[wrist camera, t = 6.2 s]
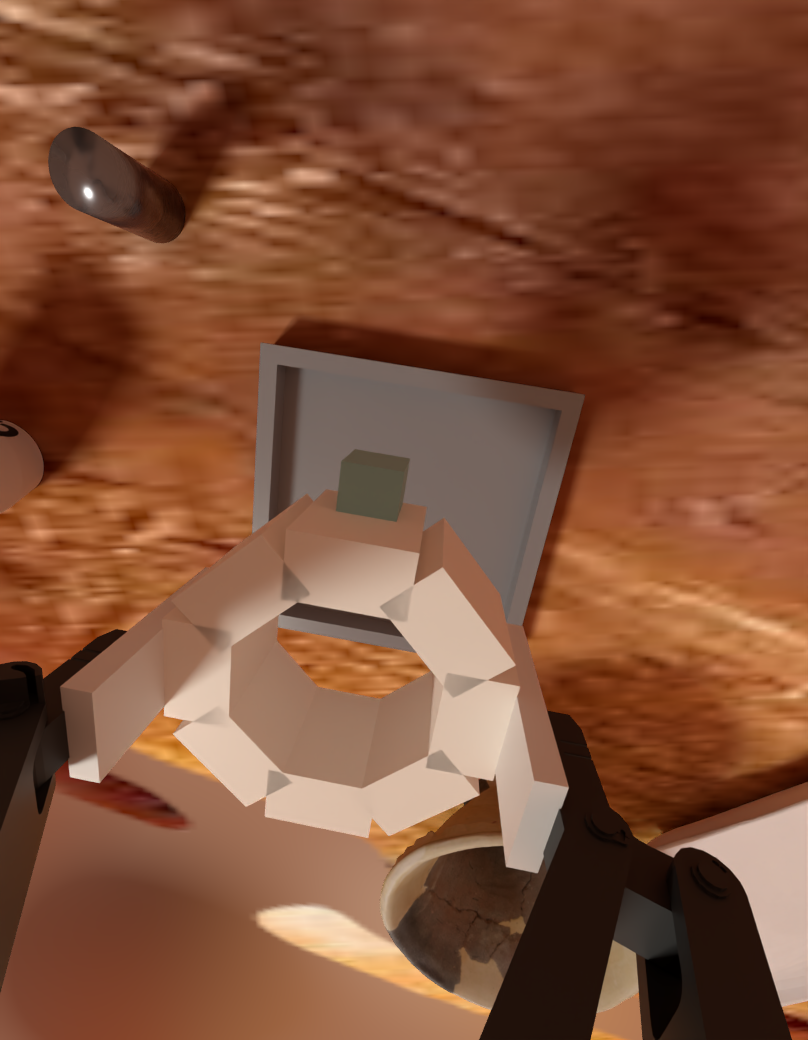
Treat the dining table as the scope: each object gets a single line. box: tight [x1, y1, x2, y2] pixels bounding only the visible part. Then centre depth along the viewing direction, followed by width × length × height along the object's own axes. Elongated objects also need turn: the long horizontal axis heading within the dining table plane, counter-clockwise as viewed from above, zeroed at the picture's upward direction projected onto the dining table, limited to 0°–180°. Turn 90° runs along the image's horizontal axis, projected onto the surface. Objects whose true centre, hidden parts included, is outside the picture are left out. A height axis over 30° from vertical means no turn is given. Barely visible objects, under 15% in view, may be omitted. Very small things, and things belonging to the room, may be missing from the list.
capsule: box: [48, 127, 185, 243], centre depth 23 cm, size 3×3×6 cm
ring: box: [162, 449, 520, 838], centre depth 15 cm, size 10×12×4 cm
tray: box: [252, 343, 585, 653], centre depth 29 cm, size 18×18×2 cm
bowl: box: [380, 775, 639, 1013], centre depth 33 cm, size 18×18×10 cm
